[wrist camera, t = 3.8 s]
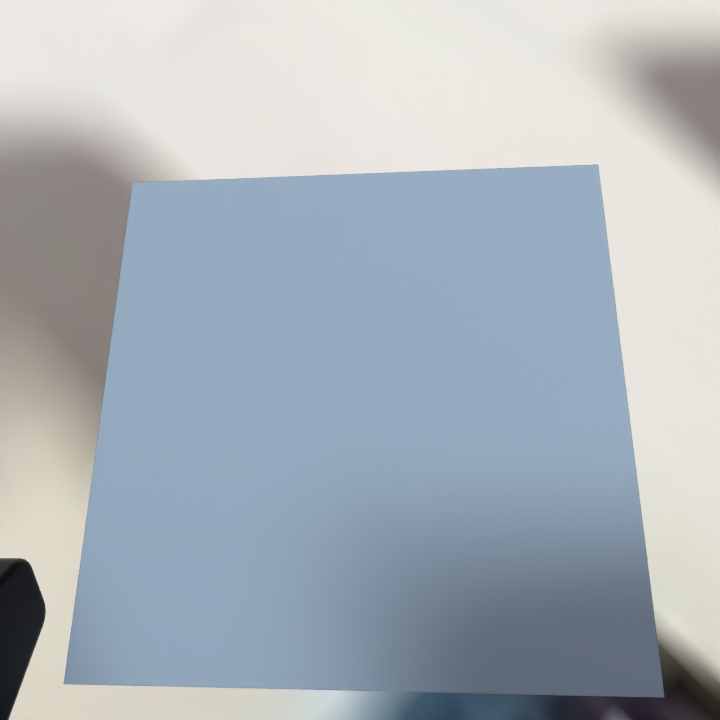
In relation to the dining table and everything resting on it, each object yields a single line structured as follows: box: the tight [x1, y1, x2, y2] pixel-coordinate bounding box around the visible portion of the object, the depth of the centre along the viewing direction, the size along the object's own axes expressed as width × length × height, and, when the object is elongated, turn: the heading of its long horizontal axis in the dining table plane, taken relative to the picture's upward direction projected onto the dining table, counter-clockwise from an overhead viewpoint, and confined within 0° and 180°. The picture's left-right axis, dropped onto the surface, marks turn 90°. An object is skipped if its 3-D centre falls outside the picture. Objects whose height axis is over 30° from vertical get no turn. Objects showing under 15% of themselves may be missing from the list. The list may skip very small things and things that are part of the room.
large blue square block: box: [64, 165, 664, 697], centre depth 12 cm, size 4×4×12 cm
